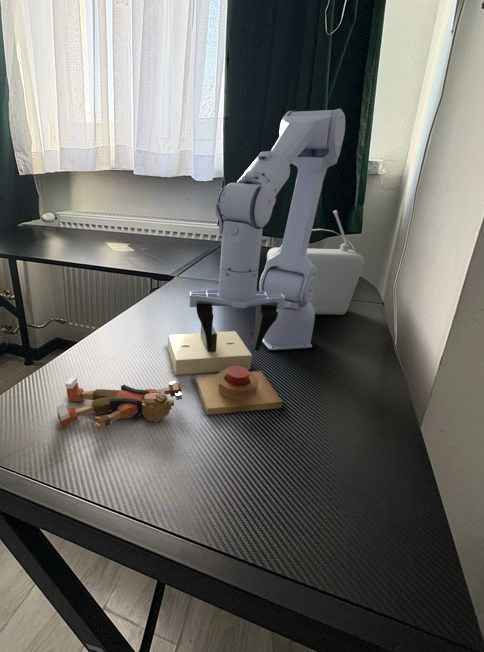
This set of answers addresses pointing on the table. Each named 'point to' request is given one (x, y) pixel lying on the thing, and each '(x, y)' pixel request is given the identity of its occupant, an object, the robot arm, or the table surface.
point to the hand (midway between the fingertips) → (232, 346)
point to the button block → (236, 394)
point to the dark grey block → (214, 339)
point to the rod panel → (207, 353)
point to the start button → (237, 376)
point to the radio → (332, 275)
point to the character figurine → (118, 403)
